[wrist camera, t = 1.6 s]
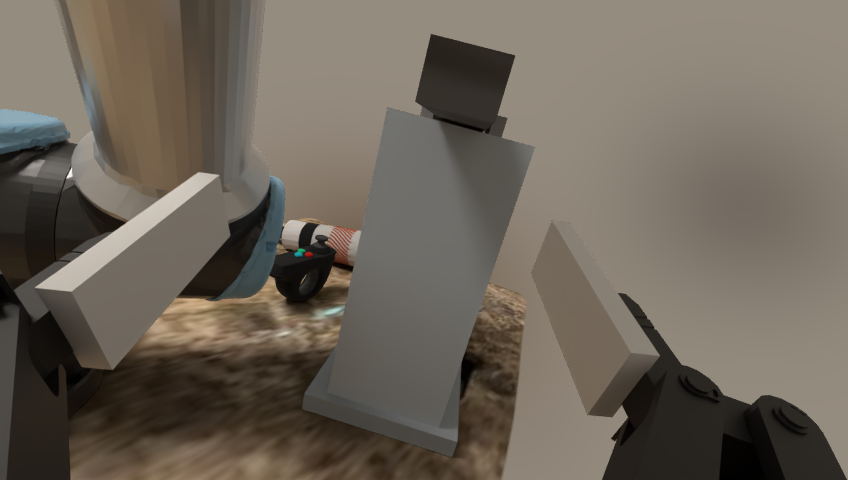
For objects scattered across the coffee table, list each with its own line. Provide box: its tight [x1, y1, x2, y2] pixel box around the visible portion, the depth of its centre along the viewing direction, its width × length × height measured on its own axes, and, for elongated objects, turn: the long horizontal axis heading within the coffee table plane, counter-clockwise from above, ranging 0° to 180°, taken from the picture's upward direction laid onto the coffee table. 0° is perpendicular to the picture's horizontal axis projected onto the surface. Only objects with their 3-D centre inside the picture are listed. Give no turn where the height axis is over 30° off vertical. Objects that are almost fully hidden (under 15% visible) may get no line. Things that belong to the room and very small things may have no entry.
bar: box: [416, 34, 515, 133], centre depth 29 cm, size 26×4×3 cm, turn 172°
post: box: [302, 106, 535, 457], centre depth 41 cm, size 22×16×32 cm
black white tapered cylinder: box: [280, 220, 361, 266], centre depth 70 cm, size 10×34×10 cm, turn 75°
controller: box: [269, 235, 337, 302], centre depth 54 cm, size 4×12×10 cm, turn 153°
